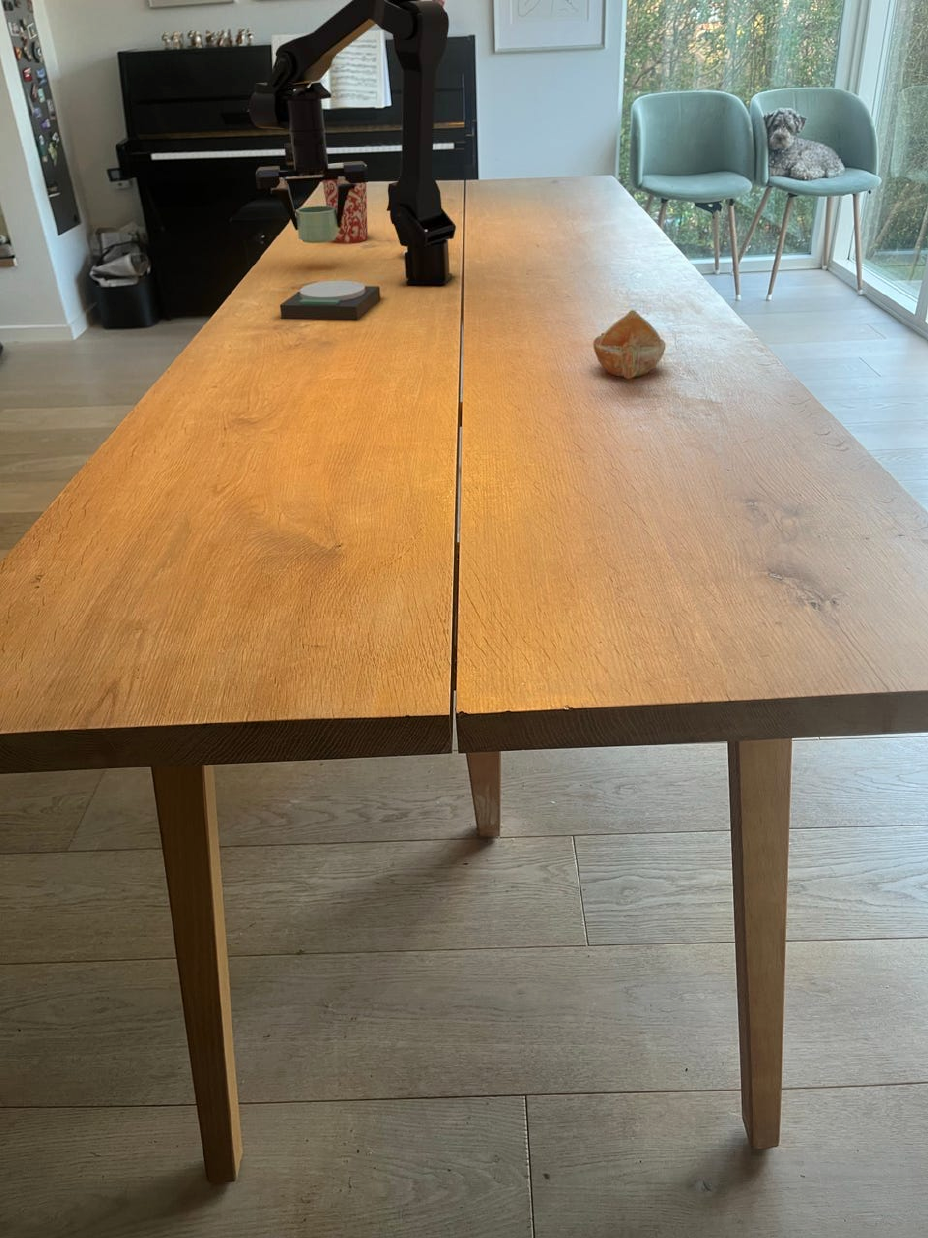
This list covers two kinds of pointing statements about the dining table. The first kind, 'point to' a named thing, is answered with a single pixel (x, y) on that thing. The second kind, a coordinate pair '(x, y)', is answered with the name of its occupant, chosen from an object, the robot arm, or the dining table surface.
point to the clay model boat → (629, 347)
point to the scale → (331, 301)
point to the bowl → (317, 224)
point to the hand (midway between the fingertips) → (318, 228)
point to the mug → (349, 210)
